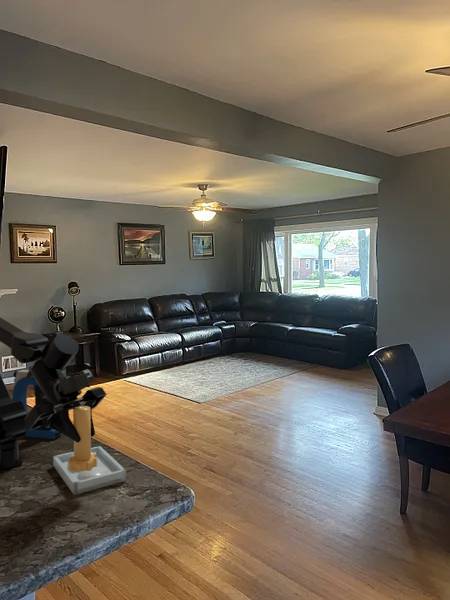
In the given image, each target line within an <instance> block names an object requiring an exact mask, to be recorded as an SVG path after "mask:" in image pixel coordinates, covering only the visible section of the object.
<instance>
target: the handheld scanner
mask: <svg viewBox="0 0 450 600" xmlns="http://www.w3.org/2000/svg"><path fill="white" fill-rule="evenodd" d="M28 371H29V369H21V370H15V371H14V372H13V374H12V375H13V378H14V380H13V382H14V386H13V390H12V397H11V399H12V400H14V401H15V402H16V401H21V402H22V403H23V406H24V409H25V411H26V412H27V413H28V405H27V404H28V401H27V400H28V398H27V397H28V395H27V394H28V387H29V386H32V387H33V391H34V402H35V403H34V406H35V405H38V404H42V403H45V402H48V400H47V399H46V398H41V396H40V394H41V393H42V390H41V388H40V387H39V385H38V383H37V382H36V380H35V378H30V379H27V373H28ZM61 371H62V373H63V374H64V376H67V371H66V369H62V370H61ZM41 420H42V421H43V422H42V425H41V426H40V427H38V428H36V429H33V430H30V431H29V430H28V429H27V434H26V436H25V437H27V438H33V439H46V440H55V439H57V438H58V437H60V436H61V435H63V434H62V433H60V432H58V431H56V430H54V429H52V428H46V427H45V426H46V424H47V423H48V422H47V419H46V418H44V419H41Z"/></svg>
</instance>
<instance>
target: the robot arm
mask: <svg viewBox="0 0 450 600" xmlns="http://www.w3.org/2000/svg"><path fill="white" fill-rule="evenodd" d="M0 343H2V344H3V345H5V346H7V347H8V348H9V350H10V354H11V355H12V356H13V358H14V359H15V360H17V361H18V362H19V364H27V363H33V362H34V363H33V365H31V366H29V367H28V370H29V371H28V373H27V379H30V378H35V380H36V382H37V383H38V385H39V387H40V388H41V390H42V393H41V394H40V396H41V398H46V399H47V400H48V402H45V403H42V404H38V405H35V404H34V405H33V406H32V408H31V409H30V411H29V412H28V411H27V412H26V411H25V409H24V406H23V403H22V402H21V401H16V402H15V401H14V400H12V397H11V395H10V393H9V391H8V389H7V387H6V384H5V382H4V380H3V377H2V374H0V471H1V470H5V469H9V468H13V467H19V466H22V465H23V460H22V459H21V457H20V456H19V455H20V454H19V439H21V438H25V437H27V436H26V434H27V429H28V430H29V431H30V430H33V429H36V428H38V427H40V426H41V425H42V422H43V421H42V420H41V419H44V418H46V419H47V422H48V423H47V424H46V426H45V427H46V428H52V429H54V430H56V431H58V432H60V433H62V434H61V435H64V436H65V437H67V438H69V439H71V440H73V442H74V441H76V442H77V443H78V442H80V441H81V438H80V436H79V434H78V432H77V430H76V428H75V427H74V425H73V422H72V420H71V418H70V411H71V410H72V411H73V409H74V408H75V407H79V406H88V407H90V417H91V438H93V437H95V435H96V431H95V426H94V421H93V414H92V413H93V411H92V410H93V409H96V408H97V407H98V405H99V404H100V403H101V402H102V401H103V400H104V399H105V397H106V396H107V395H108V394H107V393H106V391H105V390H104V388H103V387H101V386H100V387H99V386H97V387H94V388H90V387H91V383H94V381H95V379H94V375H93V373H92V372H91V371H90V370H89V369H85V370H82V371H79V372H78V374H77V375H73V376H70V375H66V376H64V374H63V373H62V371H63V370H65V368H66V367H67V366H68V365H69V364H70V362H71V361H72V360H73V358H74V357H75V355H76V354H77V353H78V352H79V349H80V347H79V344H78V341H76V340H75V339H74V338H73V337H71V336H69V335H65V334H64V333H63V331H54V332H53V333H52V334H51V337H50V339H48V337H46V336H45V335H43V334H38V333H34V332H27V331H24V330H22V329H20V328H18V327H17V326H15V325H14V324H12V323H11V322H9V321H7V320H6V319H3V318H2V317H0ZM86 388H90V389H87V390H86V391H85V393H84V394H83V391H82V390H83V389H86ZM81 394H83V395H82V396H81ZM78 396H81V397H79V398H78Z"/></svg>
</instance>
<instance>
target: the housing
mask: <svg viewBox="0 0 450 600" xmlns="http://www.w3.org/2000/svg"><path fill="white" fill-rule="evenodd" d="M91 454H96V458H97V467H93V468H92V469H91V470H90V471H81V472H80V473H77V471H73V470H72V471H69V467H68V458H72V457H73V456H74V451H71V452H66V453H61V454H58V455H53V456H52V463H53V464H52V465H53V467H54V469H55V470H56V472H57V473H58V475H59V476H60V477H61V479H62V480H63V482H64V483H65V485H67V487H68V489H69V490H70V492H71V493H72V494H73V496H76V495H79V494H83V493H86V492H90V491H95V490H98V489H102V488H105V487H109V486H113V485H116V484H120V483H124V482H127V469H125V468H124V467H123V466H122V465H121V464H120V463H119V462H117V460H116V459H115V458H114V457H112V456H111V454H109V453H108V451H106V450H105V449H104V448H103V447H102V446H101V445H98V446H93V447H91Z"/></svg>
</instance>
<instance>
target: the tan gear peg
mask: <svg viewBox="0 0 450 600" xmlns="http://www.w3.org/2000/svg"><path fill="white" fill-rule="evenodd" d="M72 415H73V416H72V418H73V422H72V423H73V425H74V427H75V428H76V430H77V432H78V434H79V436H80V438H81V441H80V442H78V443H77V442H76V441H74V440H73V452H74V456H73V457H72V458H68V467H69V471H72V470H73V471H77V473H80V472H81V471H90V470H91V469H92V468H93V467H97V458H96V454H91V448H92V437H91V417H90V407H88V406H79V407H75V408H74V409H72Z"/></svg>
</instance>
